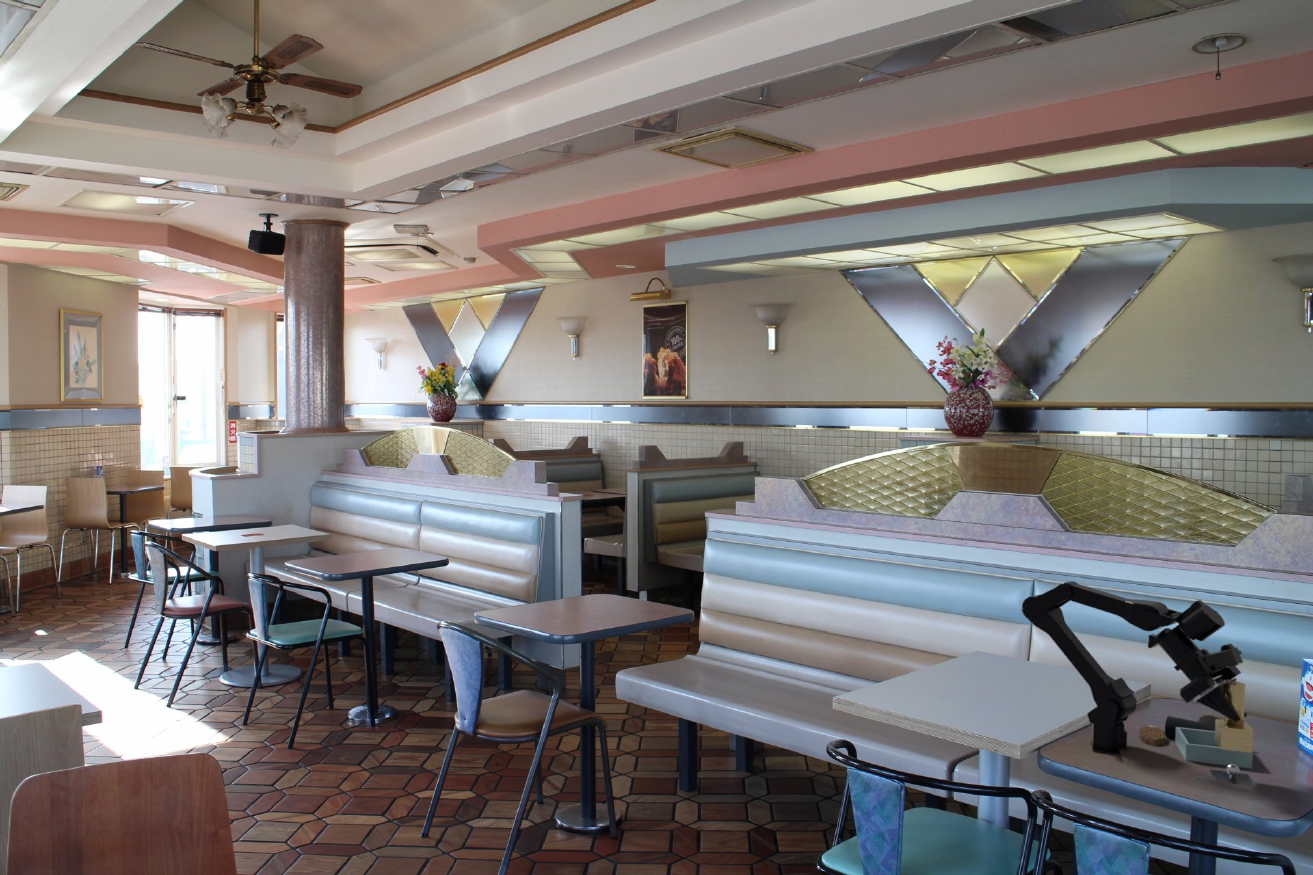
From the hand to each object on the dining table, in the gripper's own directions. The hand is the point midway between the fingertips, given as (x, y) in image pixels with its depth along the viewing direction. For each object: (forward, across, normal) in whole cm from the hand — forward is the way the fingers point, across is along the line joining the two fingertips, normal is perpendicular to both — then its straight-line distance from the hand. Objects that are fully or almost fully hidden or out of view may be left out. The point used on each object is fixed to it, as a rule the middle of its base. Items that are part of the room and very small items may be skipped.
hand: (1241, 718), depth 192 cm
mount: (+9, 0, +10) cm, 14 cm away
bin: (+3, +12, +16) cm, 20 cm away
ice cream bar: (-6, +15, +26) cm, 30 cm away
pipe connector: (0, +25, +20) cm, 32 cm away
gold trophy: (+3, 0, +5) cm, 6 cm away
